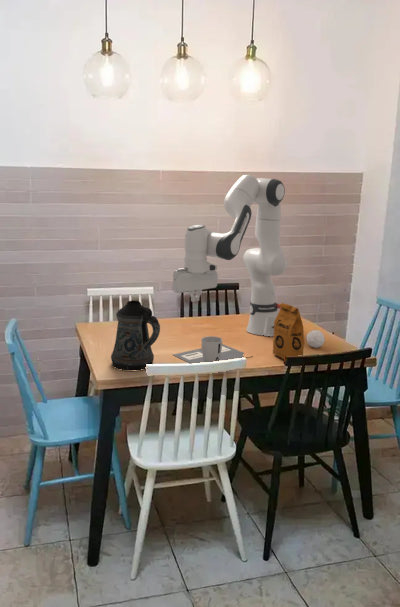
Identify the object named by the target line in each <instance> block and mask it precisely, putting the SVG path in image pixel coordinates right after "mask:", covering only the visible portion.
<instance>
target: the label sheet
mask: <svg viewBox="0 0 400 607" xmlns="http://www.w3.org/2000/svg"><path fill="white" fill-rule="evenodd" d="M244 353H245V352H243V351H241V350H238V349H235V348H233V347H231V346H228V345H226V344H223V343H222V350H221V355H220V359H219V360H228V359H234V358H242V357H244V356H243V354H244ZM172 356H174V357H175V358H178V359H180V360H182V361H184V362H186V363H188V364H190V363H200V362H204V359H203V353H202V347H201V348H197V349H196V348H195V349H192V350H188V351H183V352H180V353H179V352H178V353H174V354H172Z"/></svg>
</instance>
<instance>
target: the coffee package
mask: <svg viewBox="0 0 400 607" xmlns="http://www.w3.org/2000/svg"><path fill="white" fill-rule="evenodd" d="M279 304H280V307H281V309H279V310H278V311H279V313H278V315H277V317H276V319H275V321H274V336H273V340H272V354H273V355H275V356H277V357H279V358H280V357H281V358H280V359H282V360H284V357H285V356H298V355H303V356H304V346H305V332H304V325H303V321H302V317H301V314H300V310H299V308H298V307H296V306H294V305H291V304H287V303H285V302H281V303H279Z"/></svg>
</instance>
